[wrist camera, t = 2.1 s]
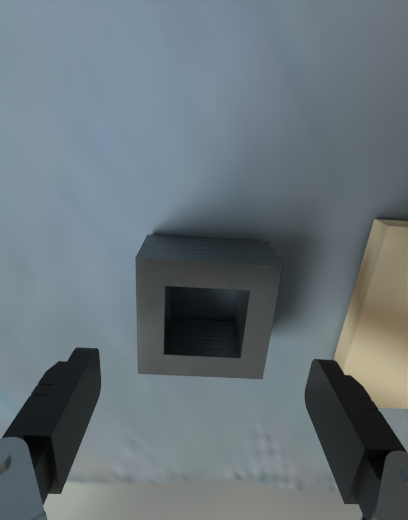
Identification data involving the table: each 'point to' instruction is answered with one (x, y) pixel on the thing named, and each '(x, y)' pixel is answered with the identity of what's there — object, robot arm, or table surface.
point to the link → (205, 331)
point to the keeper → (379, 318)
